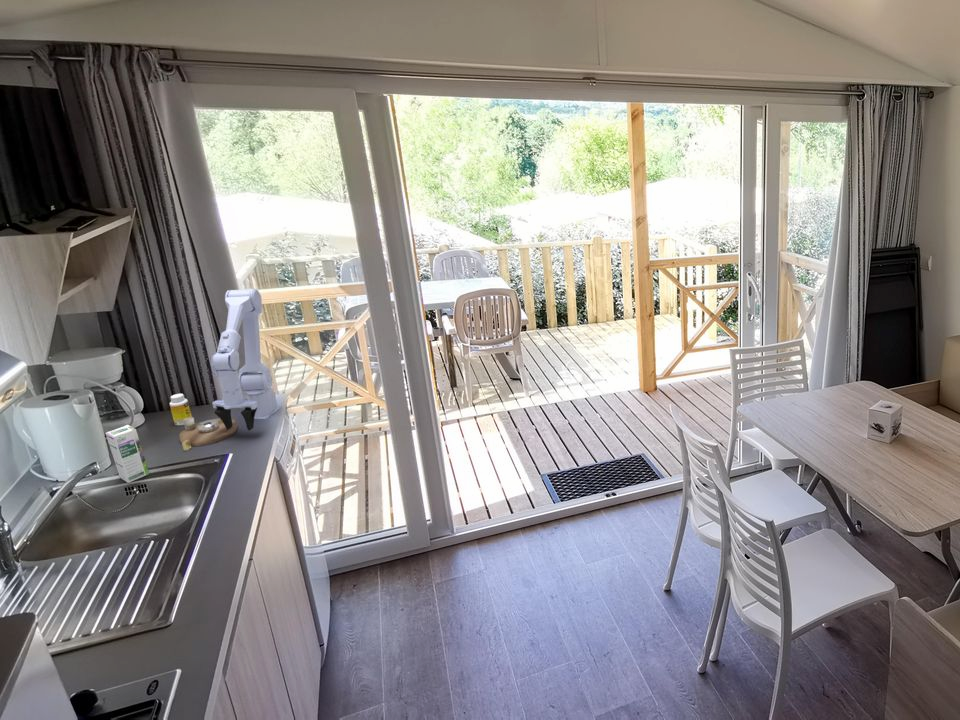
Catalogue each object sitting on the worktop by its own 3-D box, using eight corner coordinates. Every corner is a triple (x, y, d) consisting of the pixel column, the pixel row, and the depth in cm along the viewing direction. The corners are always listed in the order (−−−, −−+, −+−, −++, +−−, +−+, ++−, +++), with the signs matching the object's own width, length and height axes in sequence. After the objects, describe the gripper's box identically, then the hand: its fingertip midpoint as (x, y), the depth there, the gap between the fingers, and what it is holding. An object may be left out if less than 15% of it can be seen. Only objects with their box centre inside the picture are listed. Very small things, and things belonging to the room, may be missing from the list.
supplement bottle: (191, 424, 184) (183, 397, 181) (173, 427, 183) (165, 399, 180) (194, 418, 190) (187, 391, 186) (177, 421, 188) (169, 394, 185)
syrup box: (128, 483, 149) (113, 436, 144) (119, 477, 152) (104, 431, 148) (149, 474, 153) (136, 428, 148) (140, 468, 156) (127, 423, 152)
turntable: (248, 423, 182) (245, 409, 180) (215, 447, 166) (212, 432, 164) (203, 421, 185) (200, 408, 183) (168, 445, 169) (164, 430, 168)
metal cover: (206, 425, 178) (205, 419, 178) (222, 425, 177) (221, 419, 177) (194, 433, 173) (193, 427, 172) (211, 433, 172) (209, 427, 171)
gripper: (202, 393, 166) (212, 433, 170) (244, 394, 163) (253, 434, 167) (217, 385, 172) (226, 423, 177) (257, 385, 170) (265, 424, 174)
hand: (240, 428), depth 173 cm, fingers open, 7 cm apart
